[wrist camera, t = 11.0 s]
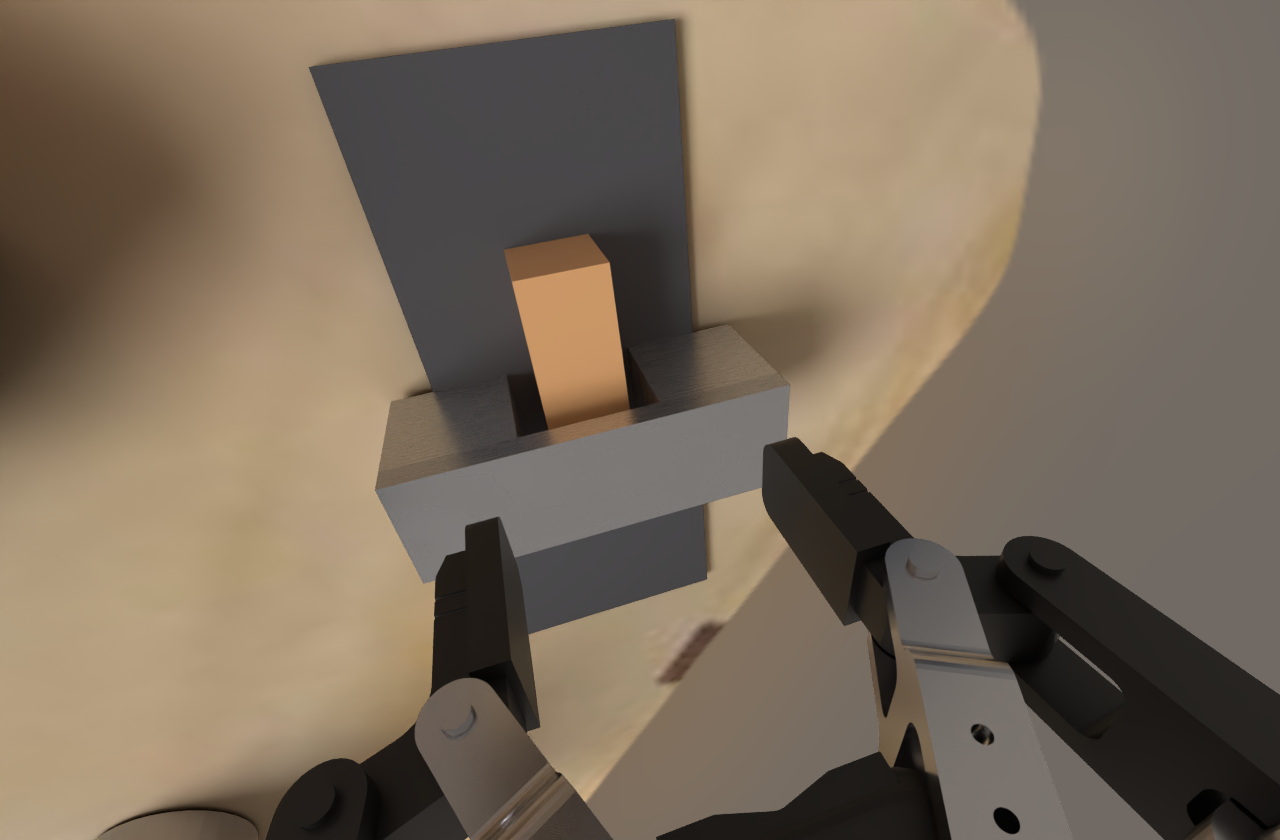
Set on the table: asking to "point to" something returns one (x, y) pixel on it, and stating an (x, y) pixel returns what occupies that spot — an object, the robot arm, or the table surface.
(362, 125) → the mat
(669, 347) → the housing
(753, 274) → the table surface
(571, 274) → the plug
